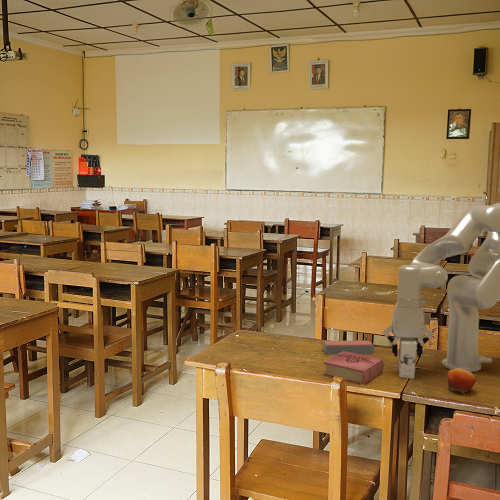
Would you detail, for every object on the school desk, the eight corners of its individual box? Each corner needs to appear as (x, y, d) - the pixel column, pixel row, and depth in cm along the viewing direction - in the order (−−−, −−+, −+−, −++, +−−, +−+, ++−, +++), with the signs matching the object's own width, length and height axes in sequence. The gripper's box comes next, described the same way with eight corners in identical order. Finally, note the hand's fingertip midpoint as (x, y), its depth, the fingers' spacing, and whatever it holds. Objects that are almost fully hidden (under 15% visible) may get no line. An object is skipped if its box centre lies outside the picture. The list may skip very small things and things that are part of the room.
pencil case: (369, 348, 206) (369, 340, 205) (373, 353, 200) (374, 344, 199) (322, 349, 205) (322, 340, 204) (325, 354, 199) (325, 345, 198)
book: (366, 386, 168) (366, 371, 167) (323, 376, 177) (323, 361, 176) (384, 373, 179) (385, 359, 179) (343, 364, 188) (343, 351, 188)
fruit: (442, 389, 161) (446, 363, 163) (447, 395, 167) (451, 370, 170) (470, 395, 156) (474, 368, 159) (474, 400, 162) (478, 375, 165)
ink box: (397, 369, 183) (398, 335, 182) (413, 370, 182) (414, 336, 180) (399, 377, 175) (400, 342, 173) (415, 379, 174) (417, 343, 172)
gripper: (434, 301, 178) (432, 353, 180) (380, 299, 180) (379, 351, 182) (439, 306, 171) (436, 360, 173) (383, 304, 173) (381, 358, 175)
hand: (407, 355), depth 177 cm, fingers open, 6 cm apart
